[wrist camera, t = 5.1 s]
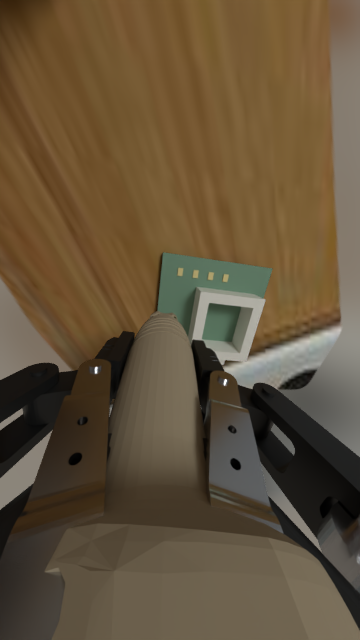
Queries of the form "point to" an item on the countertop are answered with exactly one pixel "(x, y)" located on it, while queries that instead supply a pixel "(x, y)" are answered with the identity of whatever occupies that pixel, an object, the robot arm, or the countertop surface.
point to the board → (198, 272)
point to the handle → (181, 530)
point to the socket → (244, 327)
